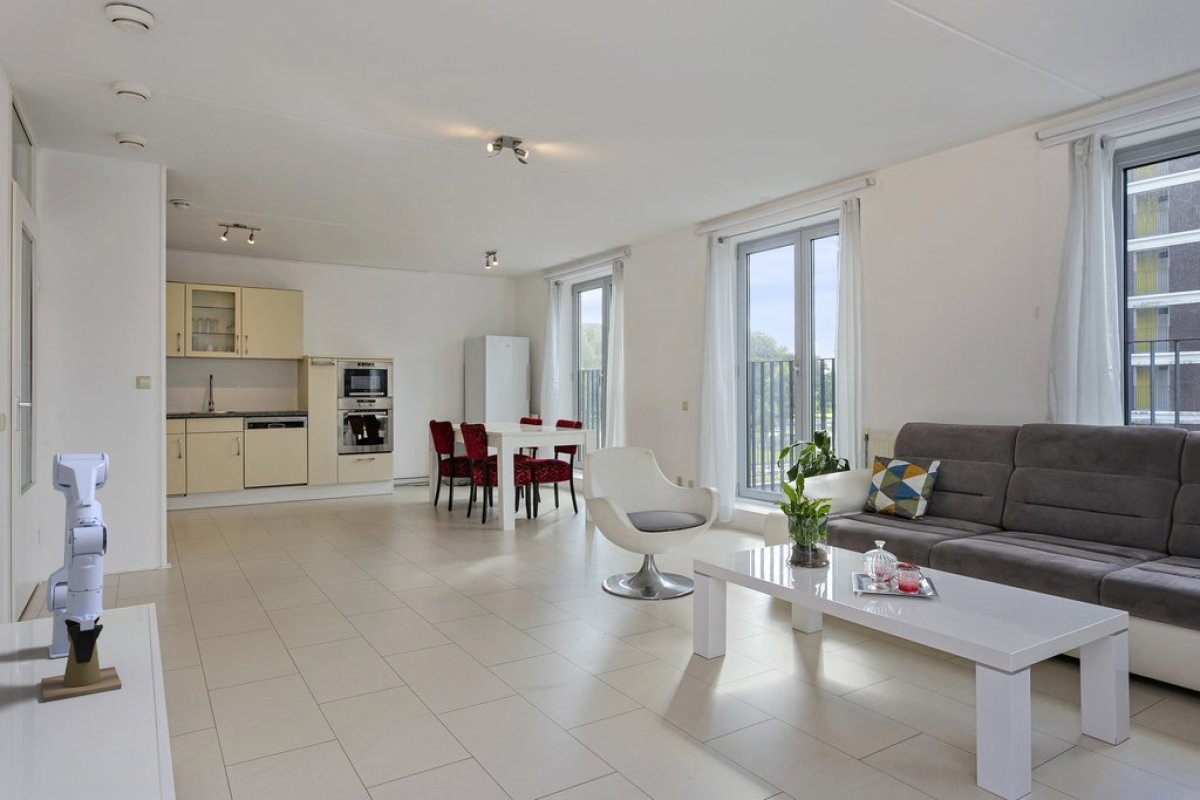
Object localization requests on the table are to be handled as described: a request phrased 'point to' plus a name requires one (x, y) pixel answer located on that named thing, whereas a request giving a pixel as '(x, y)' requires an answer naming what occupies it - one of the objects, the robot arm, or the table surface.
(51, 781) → the table surface
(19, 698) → the table surface
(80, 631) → the robot arm
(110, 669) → the light brown board
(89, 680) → the cork
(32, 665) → the table surface
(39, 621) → the table surface
